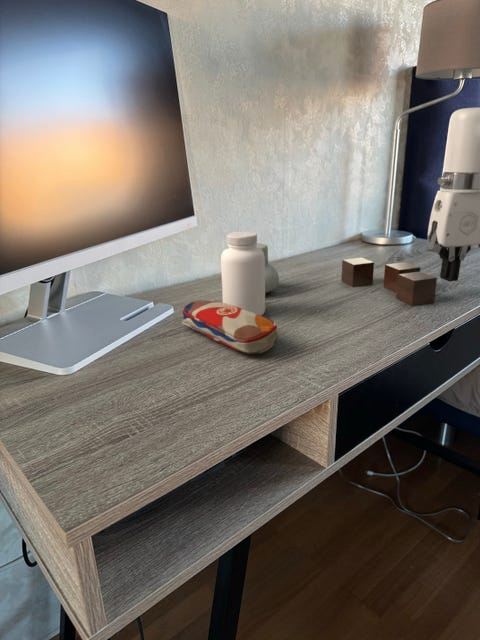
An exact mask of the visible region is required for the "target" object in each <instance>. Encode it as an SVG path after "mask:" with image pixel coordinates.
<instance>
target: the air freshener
mask: <svg viewBox="0 0 480 640" xmlns="http://www.w3.org/2000/svg"><path fill="white" fill-rule="evenodd" d="M256 243H257V246H256V247H257V248H259V249H261V250H262V251H263V253H264V256H265V294H267V293H269V292H272V291H274V290H275V289H276V288H277V287H278V285H279V283H280V276H279V273H278V270H277V269H276V267H274V266H273V265H271V264H270V263H269V248H268V247H269V246H268V245H267V244H265V243H259V242H256Z"/></svg>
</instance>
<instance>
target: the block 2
mask: <svg viewBox="0 0 480 640" xmlns="http://www.w3.org/2000/svg"><path fill="white" fill-rule="evenodd" d="M437 282H438V278H437V277H436V276H433V275H430V274H428V273H425V272H422V271H420V272H412V273H405V274H398V283H397V293H395V299H397V300H398V301H401V302H403V303H405V304H406V305H409V306H410V307H415V306H421V305H422V306H423V305H429V304H434V303H435V297H436V289H437Z"/></svg>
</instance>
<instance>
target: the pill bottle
mask: <svg viewBox="0 0 480 640" xmlns="http://www.w3.org/2000/svg"><path fill="white" fill-rule="evenodd" d="M226 242H227V247H228V248H226V249H224V250H223V251H222V252H221V255H220V268H221V269H220V270H221V272H220V273H221V292H222V295H221V296H222V303H226V304H229V305H233V306H236V307H239V308H241V309H244V310H247V311H249V312H252V313H255V314H258V315H261V316H264V315H265V314H264V313H265V311H266V293H265V256H264V253H263V251H262V250H261V249H259V248H257V247H256V246H257V243H258V234H257V233H256V232H253V231H233V232H229V233H227V235H226Z"/></svg>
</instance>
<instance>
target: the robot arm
mask: <svg viewBox="0 0 480 640" xmlns="http://www.w3.org/2000/svg"><path fill="white" fill-rule="evenodd" d="M445 144H446V145H445V152H444V159H443V166H442V167H443V168H442V174H441V176H439V177H438V179H437V184H438V185H439V186H440V188H439V190H437V192H436V195H435V197H434V202H433V205H432V208H431V213H430V216H429V222H428V229H427V242H429V244H428V247H427V251H429V252H432V253H436V254H437V255H438V256H439V258H440V259H441V267H440V272H439V273H440V274H439V279H442V280H444V281H447V282H449V283H450V282H451V283H452V282H457V281H459V275H460V271H461V270H460V269H461V264H462V261H464V260H465V258H466V256H467V254H468V253H469V252H470V251H472V250H475V249H477V248H479V246H480V107H466V108H460V109H459V108H458V109H457V110H455V111H454V112H452V114H451V116H450V118H449V123H448V131H447V139H446V143H445Z"/></svg>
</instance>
